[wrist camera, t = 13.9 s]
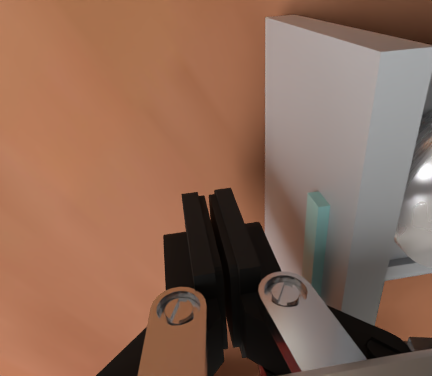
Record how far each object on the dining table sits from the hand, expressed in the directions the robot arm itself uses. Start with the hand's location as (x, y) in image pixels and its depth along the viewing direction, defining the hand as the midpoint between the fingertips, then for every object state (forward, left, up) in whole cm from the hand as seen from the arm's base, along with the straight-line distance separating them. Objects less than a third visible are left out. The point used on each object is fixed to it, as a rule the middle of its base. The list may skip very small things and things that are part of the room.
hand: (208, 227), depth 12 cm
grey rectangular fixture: (0, +9, -3) cm, 10 cm away
